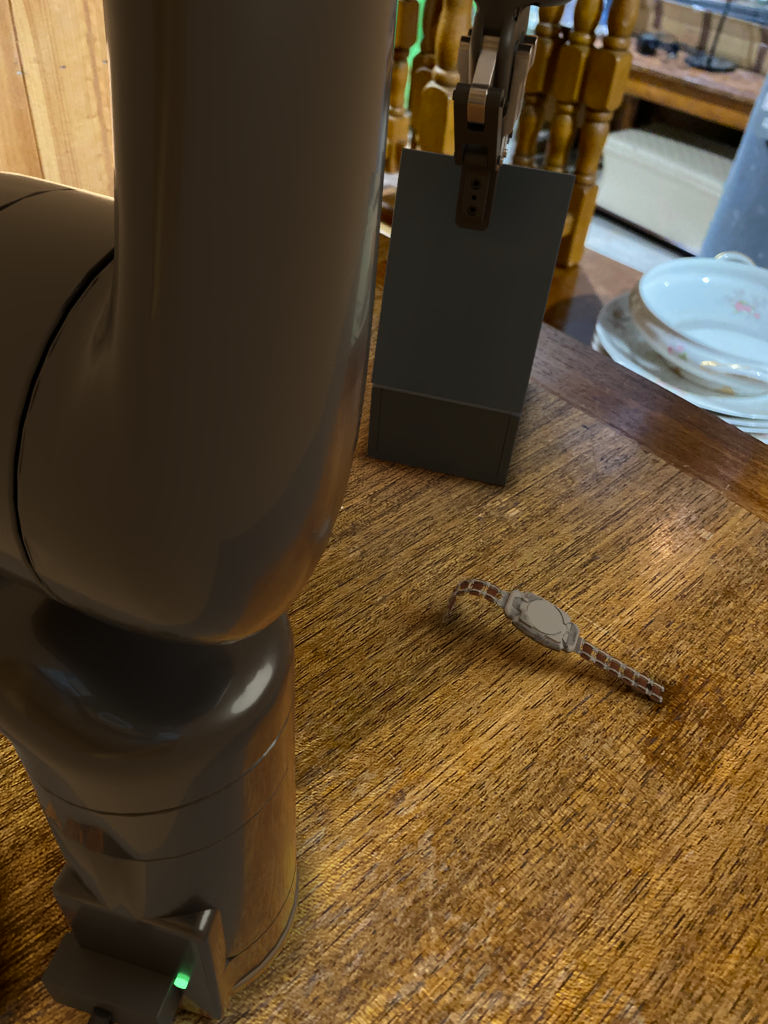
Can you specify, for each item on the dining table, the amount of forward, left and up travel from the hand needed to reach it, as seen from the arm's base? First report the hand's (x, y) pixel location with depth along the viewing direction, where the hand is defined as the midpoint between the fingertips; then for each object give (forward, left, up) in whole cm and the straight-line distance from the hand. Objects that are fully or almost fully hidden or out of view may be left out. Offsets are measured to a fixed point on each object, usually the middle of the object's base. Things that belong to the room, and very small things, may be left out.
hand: (472, 225), depth 50 cm
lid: (+2, 0, -5) cm, 6 cm away
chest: (+7, 0, -20) cm, 22 cm away
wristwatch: (-17, -11, -21) cm, 28 cm away
